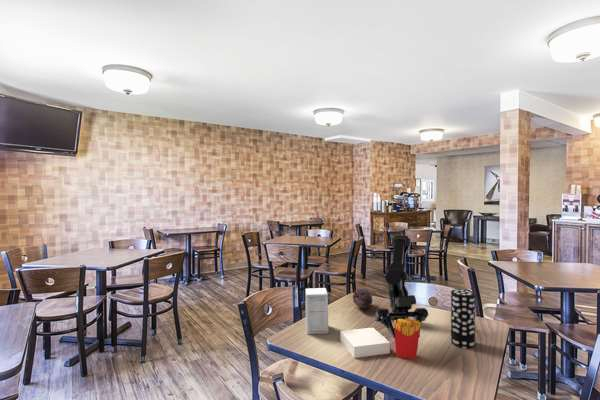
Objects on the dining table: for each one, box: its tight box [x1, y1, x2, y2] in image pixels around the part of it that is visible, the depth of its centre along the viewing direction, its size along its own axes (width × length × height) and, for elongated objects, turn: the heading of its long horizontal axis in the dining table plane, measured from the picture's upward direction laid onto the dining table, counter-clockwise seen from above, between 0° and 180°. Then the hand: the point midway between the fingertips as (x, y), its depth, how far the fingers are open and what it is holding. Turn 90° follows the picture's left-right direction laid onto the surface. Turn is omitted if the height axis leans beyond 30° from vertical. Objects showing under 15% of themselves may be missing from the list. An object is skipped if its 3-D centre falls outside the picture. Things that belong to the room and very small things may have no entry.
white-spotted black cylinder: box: [450, 288, 476, 350], centre depth 127 cm, size 8×8×20 cm
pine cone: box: [352, 288, 373, 309], centre depth 168 cm, size 18×10×10 cm, turn 165°
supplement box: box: [304, 287, 329, 335], centre depth 142 cm, size 10×9×17 cm
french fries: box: [393, 317, 422, 359], centre depth 119 cm, size 9×4×13 cm, turn 85°
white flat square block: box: [339, 327, 391, 359], centre depth 126 cm, size 14×14×4 cm
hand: (406, 337), depth 118 cm, fingers closed on french fries, 8 cm apart
